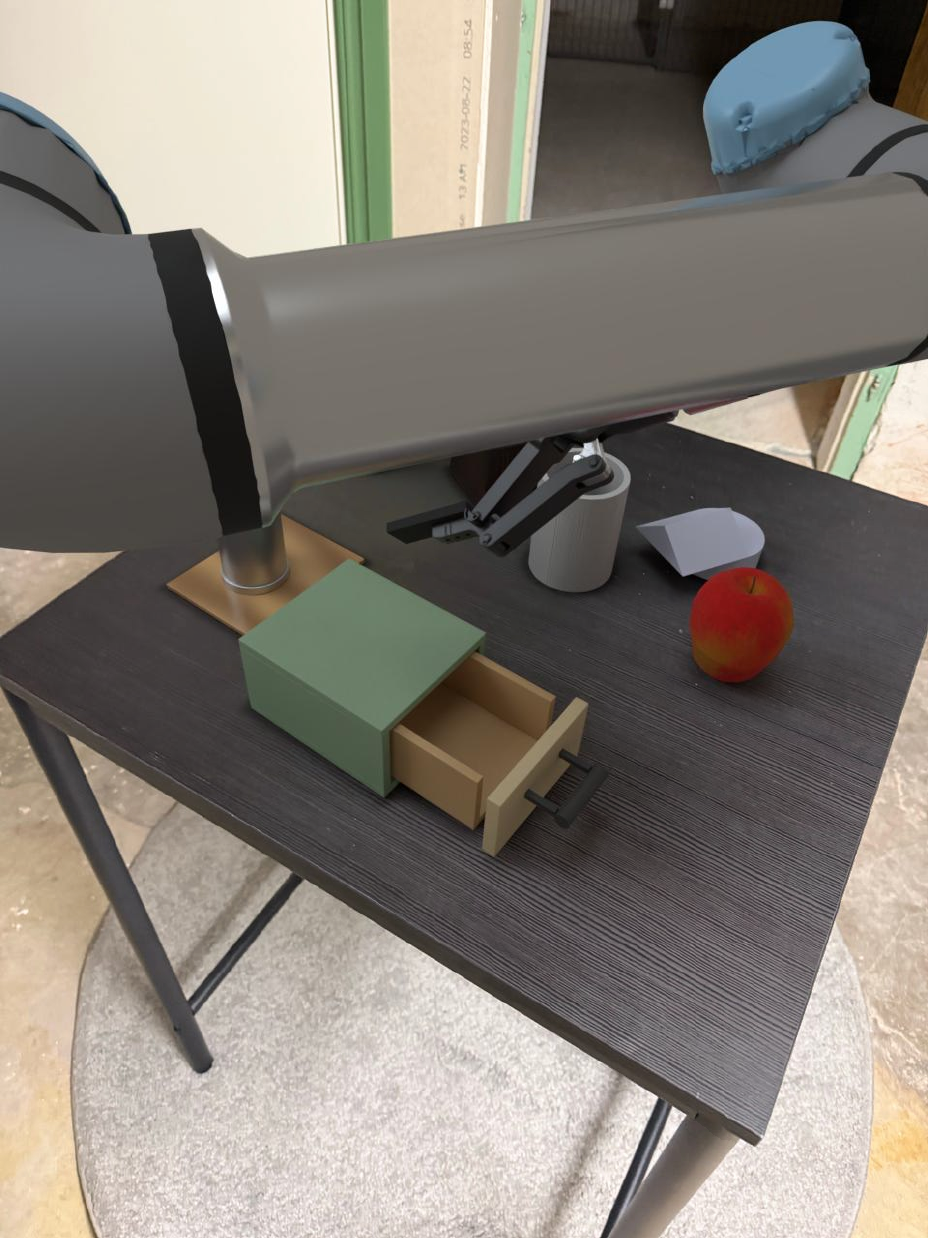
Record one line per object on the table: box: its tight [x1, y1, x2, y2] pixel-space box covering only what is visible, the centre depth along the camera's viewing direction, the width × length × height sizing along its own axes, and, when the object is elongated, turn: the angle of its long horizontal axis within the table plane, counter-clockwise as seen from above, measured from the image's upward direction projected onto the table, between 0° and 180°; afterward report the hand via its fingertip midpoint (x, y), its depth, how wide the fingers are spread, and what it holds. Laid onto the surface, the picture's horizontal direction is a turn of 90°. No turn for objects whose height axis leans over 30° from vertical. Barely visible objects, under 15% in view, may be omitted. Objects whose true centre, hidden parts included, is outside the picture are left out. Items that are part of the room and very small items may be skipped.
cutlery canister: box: [215, 511, 290, 595], centre depth 82 cm, size 7×7×26 cm
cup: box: [527, 447, 632, 593], centre depth 91 cm, size 9×9×12 cm
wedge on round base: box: [635, 507, 766, 581], centre depth 94 cm, size 9×7×13 cm
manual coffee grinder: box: [448, 436, 556, 507], centre depth 99 cm, size 16×11×18 cm
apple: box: [688, 567, 795, 683], centre depth 80 cm, size 9×9×12 cm
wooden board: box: [166, 513, 366, 637], centre depth 92 cm, size 16×13×1 cm
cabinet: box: [237, 559, 487, 799], centre depth 76 cm, size 16×14×9 cm
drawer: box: [389, 651, 610, 858], centre depth 71 cm, size 19×13×7 cm
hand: (392, 451), depth 66 cm, fingers open, 13 cm apart
